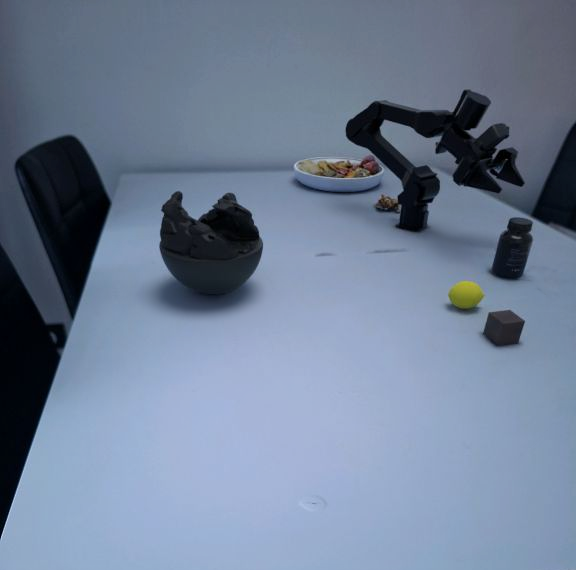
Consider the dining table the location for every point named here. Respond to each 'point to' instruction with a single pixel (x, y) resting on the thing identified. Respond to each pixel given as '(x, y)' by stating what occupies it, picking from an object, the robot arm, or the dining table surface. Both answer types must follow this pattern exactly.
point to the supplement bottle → (513, 249)
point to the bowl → (339, 173)
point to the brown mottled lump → (387, 203)
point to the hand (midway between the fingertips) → (512, 188)
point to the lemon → (465, 294)
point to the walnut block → (503, 327)
